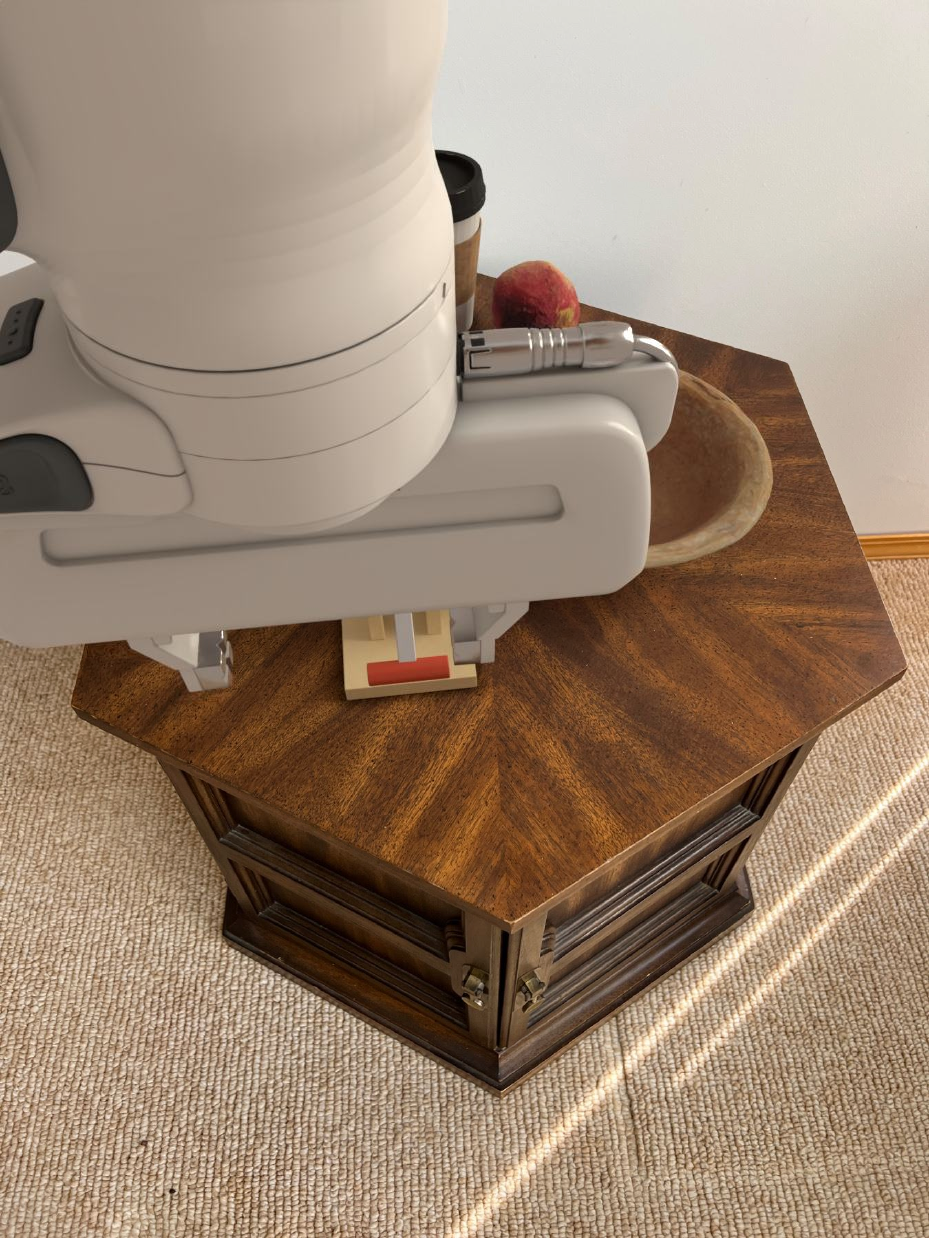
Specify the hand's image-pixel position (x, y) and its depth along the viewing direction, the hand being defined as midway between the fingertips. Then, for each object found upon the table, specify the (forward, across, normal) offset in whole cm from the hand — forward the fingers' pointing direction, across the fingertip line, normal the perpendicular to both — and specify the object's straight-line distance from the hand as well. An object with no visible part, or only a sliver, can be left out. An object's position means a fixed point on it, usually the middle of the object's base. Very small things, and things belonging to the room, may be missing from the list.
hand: (343, 661), depth 34 cm
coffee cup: (+27, -8, -56) cm, 63 cm away
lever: (+18, -2, -18) cm, 26 cm away
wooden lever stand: (+27, -2, -21) cm, 34 cm away
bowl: (+27, -18, -30) cm, 44 cm away
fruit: (+27, -16, -51) cm, 60 cm away
